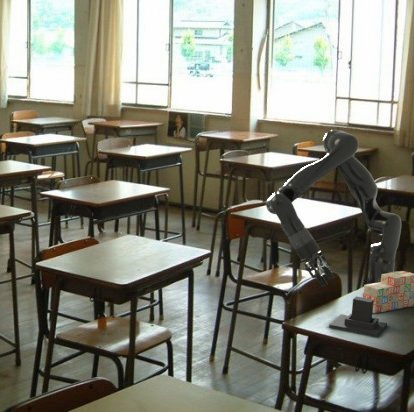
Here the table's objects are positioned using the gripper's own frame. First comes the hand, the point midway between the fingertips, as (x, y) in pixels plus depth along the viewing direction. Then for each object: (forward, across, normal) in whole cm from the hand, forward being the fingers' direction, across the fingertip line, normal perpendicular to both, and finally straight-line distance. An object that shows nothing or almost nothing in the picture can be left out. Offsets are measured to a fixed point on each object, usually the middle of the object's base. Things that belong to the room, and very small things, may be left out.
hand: (328, 282), depth 304 cm
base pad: (+18, -3, -1) cm, 18 cm away
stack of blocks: (+22, +27, -3) cm, 34 cm away
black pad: (+17, -3, -3) cm, 18 cm away
